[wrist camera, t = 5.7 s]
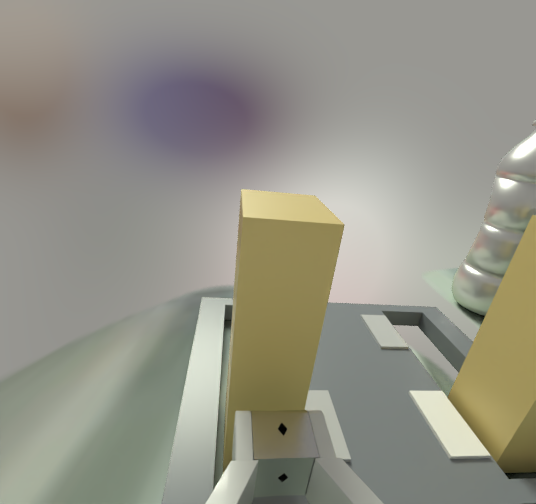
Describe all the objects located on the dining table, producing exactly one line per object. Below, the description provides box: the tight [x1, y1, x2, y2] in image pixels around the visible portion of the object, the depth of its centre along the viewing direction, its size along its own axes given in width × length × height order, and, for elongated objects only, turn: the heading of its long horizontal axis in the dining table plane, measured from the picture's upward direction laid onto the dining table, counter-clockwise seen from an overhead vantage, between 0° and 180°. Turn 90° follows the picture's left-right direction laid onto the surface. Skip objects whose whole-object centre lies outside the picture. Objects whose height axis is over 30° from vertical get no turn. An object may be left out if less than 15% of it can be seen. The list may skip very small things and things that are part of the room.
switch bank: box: [162, 297, 536, 504], centre depth 20 cm, size 16×22×2 cm
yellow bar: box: [223, 189, 344, 473], centre depth 14 cm, size 4×3×13 cm
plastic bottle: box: [452, 120, 536, 316], centre depth 29 cm, size 6×7×20 cm
